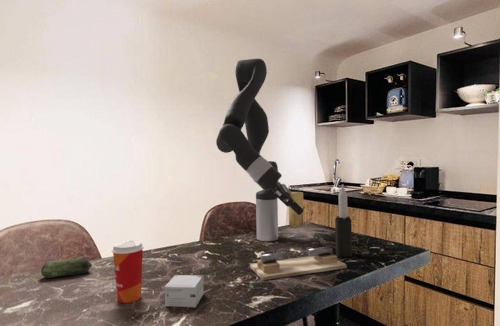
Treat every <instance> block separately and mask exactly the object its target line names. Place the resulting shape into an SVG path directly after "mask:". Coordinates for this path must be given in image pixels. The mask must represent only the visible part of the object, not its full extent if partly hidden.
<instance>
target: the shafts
mask: <svg viewBox="0 0 500 326" xmlns="http://www.w3.org/2000/svg"><path fill="white" fill-rule="evenodd" d="M327 254H333V248H332V246H322V247H315V248H308V249H307V250H306V255H307V257H308V256H309V257H312V256H319V255H327ZM287 259H289V257H288V253H287V251H283V252H281V251H280V252H274V253H265V254H260V260H261V262H262V263H265V262H273V261H281V260H287Z"/></svg>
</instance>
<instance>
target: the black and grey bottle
mask: <svg viewBox="0 0 500 326" xmlns="http://www.w3.org/2000/svg"><path fill="white" fill-rule="evenodd" d="M334 223H335V225H334V227H335V231H334V232H335V233H334V234H335V254H336V256H337V257H340V258H343V257H345V258H346V257H347V258H348V257H349V258H351V257H352V256H353V247H352V245H353V244H352V241H353V239H352V237H353V236H352V235H353V234H352V233H353V232H352V231H353V229H352V219H351V217H350V216H349V215H348V193H347V192H346V188H345V185H344V184H341V188H340V191H339V193H338V215H336V217H335V218H334Z"/></svg>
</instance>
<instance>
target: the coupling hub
mask: <svg viewBox="0 0 500 326" xmlns="http://www.w3.org/2000/svg"><path fill="white" fill-rule="evenodd" d="M289 193H290V194H291V197H292V198H293V199H294V200H295V202H296V203H297V204H298V205H299V206H300V207H301V208H302V209H303V206H304V191H303V192H301V191H291V192H289ZM304 222H305V220H304V212H303V213H301V214H300V215H298V214H297V213H296V212H295V211H294V210H293V209H292V208H291V207H288V225H289V226H292V227H300V226H301V227H302V226H304V224H305V223H304Z"/></svg>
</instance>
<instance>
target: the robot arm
mask: <svg viewBox="0 0 500 326" xmlns="http://www.w3.org/2000/svg"><path fill="white" fill-rule="evenodd" d="M234 68H235V69H234V72H235V73H234V75H235V79H236V84H237V88H238V93H237V94H236V95H235V96H234V98H232V100H231V102H230V103H229V106H228V109H227V110H226V114H225V117H224V121H223V124H222V126H221V127H220V129H219V132H218V134H217V137H216V140H215V141H216V142H215V143H216V147H217V149H218V150H219V151H220V152H222V153H224V154H227V153H228V154H229V153H231V152H234V156H235V161H236V163H237V164H238V165H239V166H240V167H241V168H242V169H243V170H244V171H245V172H246V173H247V174H248V175H249V177H250V179H252V180H253V182H255V184H257V185H258V186H259V187H260V188H261V189H262V190H258V191H257V192H256V193H255V207H256V208H255V212H256V213H255V215H256V216H255V217H256V218H255V219H256V222H255V223H256V240H257V241H260V242H273V241H277V240H279V215H278V214H279V212H278V210H279V209H278V207H279V206H278V205H279V204H278V200H280V201H281V202H282V203H283V204H284V205H285V206H286V207H288V208H289V207H291V208H292V209H293V210H294V211H295V212H296V213H297V214H298V215H300V214H301V213H303V214H304V210H305V206H304V205H303V209H302V208H301V207H300V206H299V205H298V204H297V203H296V202H295V200H294V199H293V198H292V197H291V194H290V193H289V192H292V191H291V190H290V189H289V187H287V185H286V184H285V183H281V182H280V179H281V178H282V177H283V175H282V174H281V173H280V172H279V166H278V164H277V162H276V161H272V160H271V161H270V160H269V161H268V160H267V159H266V158H264V157H263V156H262V155H261V150H262V148H263V146H264V144H265V142H266V140H267V138H268V136H269V134H270V127H269V118H268V116H267V113H266V111H265V110H264V108H263V107H262V106H261V104H260V103H259V102H258V101H257V100H256V97H257V96H258V94H259V93H260V91H261V88H262V87H263V85H264V83H265V81H266V78H267V73H268V72H267V71H268V69H267V65H266V61H264V60H263V59H261V58H248V59H240V60H237V61H236V63H235V66H234ZM244 126H245V133H246V135H245V134H244V132H243V131H242V129H243V127H244Z"/></svg>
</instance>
